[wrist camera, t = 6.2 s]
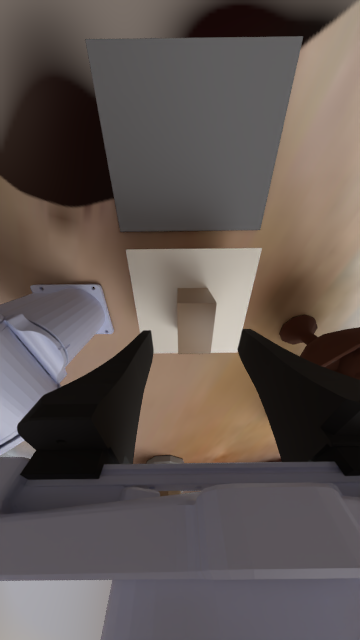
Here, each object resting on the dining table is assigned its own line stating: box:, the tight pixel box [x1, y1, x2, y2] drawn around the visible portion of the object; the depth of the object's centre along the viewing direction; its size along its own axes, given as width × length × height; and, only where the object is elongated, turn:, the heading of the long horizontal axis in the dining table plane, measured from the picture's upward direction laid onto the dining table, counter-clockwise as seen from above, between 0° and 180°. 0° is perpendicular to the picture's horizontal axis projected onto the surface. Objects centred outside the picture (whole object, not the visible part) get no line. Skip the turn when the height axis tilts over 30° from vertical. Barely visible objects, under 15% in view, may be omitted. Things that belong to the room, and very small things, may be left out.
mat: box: [85, 36, 303, 232], centre depth 14 cm, size 16×12×1 cm
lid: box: [126, 248, 262, 354], centre depth 14 cm, size 12×12×5 cm
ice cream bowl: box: [280, 315, 360, 380], centre depth 17 cm, size 11×11×15 cm
